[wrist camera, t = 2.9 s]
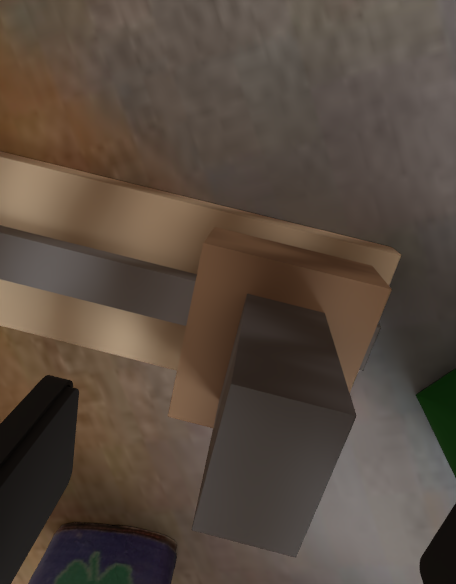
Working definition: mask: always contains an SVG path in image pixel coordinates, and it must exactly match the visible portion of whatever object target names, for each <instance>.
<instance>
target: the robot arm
mask: <svg viewBox="0 0 456 584" xmlns="http://www.w3.org/2000/svg"><path fill="white" fill-rule="evenodd" d="M78 397H79V390H78V389H76V388H73V383H72V381H70V380H66V379H62V378H58V377H54V376H50V375H47V376H45V377H44V378H43V379H42V380H41V381H40V382H39V383H38V384H37V385H36V386H35V387H34V388H33V389H32V390H31V392H30V393H29V394H28V395H27V396H26V397H25V398H24V399H23V400H22V401H21V402H20V403H19V405H18V406H17V407H16V408H15V409H14V410H13V411H12V412H11V413H10V414H9V415H8V416H7V417H6V419H5V420H4V421H3V422H2V423H1V424H0V584H11V583H12V581H13V579H14V577H15V576H16V574H17V572H18V570H19V569H20V567H21V565H22V563H23V562H24V560H25V558H26V556H27V555H28V553H29V551H30V549H31V548H32V546H33V544H34V543H35V541H36V539H37V537H38V536H39V534H40V532H41V530H42V529H43V527H44V525H45V523H46V522H47V520H48V518H49V516H50V515H51V513H52V511H53V509H54V508H55V506H56V504H57V503H58V501H59V499H60V497H61V496H62V494H63V492H64V490H65V489H66V487H67V485H68V483H69V480H70V477H71V474H72V468H73V456H74V444H75V433H76V421H77V409H78ZM420 574H421V577H422V580H423V583H424V584H456V504H455V505H454V507H453V508H452V510H451V511H450V513H449V515H448V516H447V518H446V519H445V521H444V522H443V524H442V525H441V527H440V529H439V530H438V532H437V533H436V535H435V536H434V538H433V539H432V541H431V543H430V544H429V546H428V547H427V549H426V550H425V552H424V554H423V555H422V557H421V559H420Z"/></svg>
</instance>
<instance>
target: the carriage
mask: <svg viewBox="0 0 456 584" xmlns="http://www.w3.org/2000/svg"><path fill="white" fill-rule="evenodd" d="M391 290H392V289H391V288H390V287H389V285H388V284H387V283H386V282H385V281H384V279H383V278H382V277H381V276H380V275H379V273H378V272H377V271H376V270H375V268H374V267H373V266H372V265H368V264H364V263H360V262H356V261H351V260H347V259H343V258H339V257H335V256H331V255H327V254H323V253H319V252H315V251H311V250H307V249H303V248H299V247H295V246H291V245H286V244H282V243H278V242H274V241H270V240H266V239H262V238H258V237H254V236H250V235H246V234H242V233H238V232H234V231H230V230H226V229H222V228H217V227H214V229H213V230H212V231H211V233H210V234H209V236H208V237H207V238H206V240H205V241H204V243H203V247H202V252H201V257H200V262H199V267H198V271H197V276H196V281H195V286H194V291H193V296H192V301H191V306H190V310H189V315H188V320H187V325H186V330H185V335H184V340H183V345H182V349H181V354H180V359H179V364H178V369H177V374H176V379H175V384H174V388H173V393H172V398H171V403H170V408H169V413H168V417H172V418H176V419H180V420H183V421H187V422H191V423H195V424H199V425H203V426H207V427H211V428H213V432H212V436H211V441H210V446H209V451H208V455H207V460H206V465H205V470H204V474H203V479H202V484H201V488H200V493H199V498H198V503H197V507H196V512H195V517H194V522H193V526H192V530H193V531H197V532H201V533H205V534H208V535H212V536H216V537H220V538H224V539H227V540H231V541H235V542H239V543H242V544H246V545H250V546H254V547H258V548H261V549H265V550H269V551H273V552H277V553H280V554H284V555H288V556H292V557H296V556H297V554H298V551H299V549H300V547H301V544H302V542H303V540H304V537H305V535H306V533H307V530H308V528H309V526H310V523H311V521H312V519H313V516H314V514H315V512H316V509H317V507H318V505H319V502H320V500H321V498H322V495H323V493H324V491H325V488H326V486H327V484H328V481H329V479H330V477H331V474H332V472H333V470H334V467H335V465H336V463H337V460H338V458H339V456H340V453H341V451H342V449H343V446H344V444H345V442H346V439H347V437H348V435H349V432H350V430H351V428H352V425H353V423H354V421H355V418H356V413H355V409H354V406H353V403H352V400H351V396H350V390H351V388H352V386H353V383H354V381H355V378H356V376H357V373H358V371H359V368H360V366H361V364H362V361H363V359H364V356H365V354H366V351H367V349H368V346H369V344H370V342H371V339H372V337H373V334H374V332H375V329H376V327H377V324H378V322H379V319H380V317H381V315H382V312H383V310H384V307H385V305H386V302H387V300H388V297H389V295H390V293H391Z"/></svg>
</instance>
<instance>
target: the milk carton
mask: <svg viewBox="0 0 456 584" xmlns="http://www.w3.org/2000/svg"><path fill="white" fill-rule="evenodd" d="M416 397H417V399H418V401H419V403H420V405H421V407H422V409H423V411H424V413H425V415H426V417H427V419H428V421H429V423H430V425H431V427H432V430H433V432H434V434H435V436H436V438H437V440H438V442H439V444H440V446H441V448H442V450H443V453H444V455H445V457H446V459H447V461H448V463H449V465H450V467H451V469H452V471H453V473H454V475H455V477H456V369H454V370H453V371H451V372H450V373H448V374H447V375H445V376H444V377H442V378H441V379H439V380H438V381H436V382H435V383H433V384H432V385H430V386H429V387H427V388H426V389H424V390H423V391H421V392H420V393H418V394H416Z"/></svg>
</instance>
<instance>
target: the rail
mask: <svg viewBox="0 0 456 584" xmlns="http://www.w3.org/2000/svg"><path fill="white" fill-rule="evenodd" d="M214 227H217V228H222V229H226V230H230V231H234V232H238V233H242V234H246V235H250V236H254V237H258V238H262V239H266V240H270V241H274V242H278V243H282V244H286V245H291V246H295V247H299V248H303V249H307V250H311V251H315V252H319V253H323V254H327V255H331V256H335V257H339V258H343V259H347V260H351V261H356V262H360V263H364V264H368V265H372V266H373V267H374V268H375V270H376V271H377V272H378V273H379V275H380V276H381V277H382V278H383V279H384V281H385V282H386V283H387V284H388V285H390V282H391V280H392V277H393V275H394V272H395V270H396V267H397V265H398V262H399V260H400V257H401V254H399V253H398V252H397V251H396V250H395V249H394V248H392V247H389V246H385V245H381V244H377V243H373V242H369V241H365V240H361V239H357V238H352V237H348V236H344V235H340V234H336V233H332V232H328V231H324V230H320V229H316V228H312V227H308V226H303V225H299V224H295V223H291V222H287V221H283V220H279V219H275V218H271V217H267V216H263V215H259V214H254V213H250V212H246V211H242V210H238V209H234V208H230V207H226V206H222V205H218V204H214V203H210V202H205V201H201V200H197V199H193V198H189V197H185V196H181V195H177V194H173V193H169V192H165V191H161V190H156V189H152V188H148V187H144V186H140V185H136V184H132V183H128V182H124V181H120V180H116V179H112V178H107V177H103V176H99V175H95V174H91V173H87V172H83V171H79V170H75V169H71V168H67V167H63V166H58V165H54V164H50V163H46V162H42V161H38V160H34V159H30V158H26V157H22V156H18V155H14V154H9V153H5V152H1V151H0V326H4V327H8V328H12V329H16V330H20V331H24V332H28V333H32V334H36V335H40V336H44V337H47V338H51V339H55V340H59V341H63V342H67V343H71V344H75V345H79V346H83V347H87V348H91V349H95V350H98V351H102V352H106V353H110V354H114V355H118V356H122V357H126V358H130V359H134V360H138V361H142V362H146V363H150V364H153V365H157V366H161V367H165V368H169V369H173V370H177V369H178V364H179V359H180V354H181V349H182V345H183V340H184V335H185V330H186V325H187V320H188V315H189V310H190V306H191V301H192V296H193V291H194V286H195V281H196V276H197V271H198V267H199V262H200V257H201V252H202V247H203V243H204V241H205V240H206V238H207V237H208V236H209V234H210V233H211V231H212V230H213V229H214ZM380 329H381V327H380V325H379V324H377V327H376V329H375V332H374V334H373V337H372V339H371V342H370V344H369V346H368V349H367V351H366V354H365V356H364V359H363V361H362V364H361V366H360V368H359V370H362V371H363V370H364V367H365V365H366V363H367V360H368V358H369V355H370V353H371V350H372V348H373V346H374V343H375V341H376V338H377V336H378V334H379V331H380Z"/></svg>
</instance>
